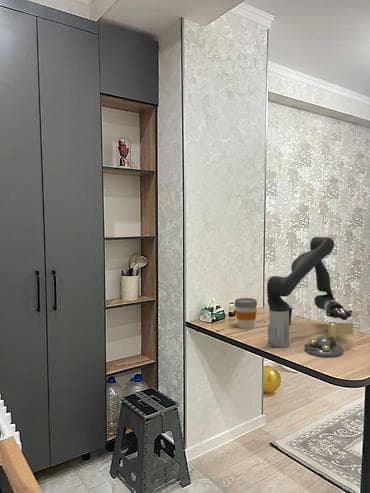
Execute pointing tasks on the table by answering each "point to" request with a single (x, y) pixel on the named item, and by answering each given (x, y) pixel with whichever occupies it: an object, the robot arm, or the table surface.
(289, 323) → the coffee mug
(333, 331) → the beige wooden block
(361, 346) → the table surface
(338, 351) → the levelling base
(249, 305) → the reusable coffee cup
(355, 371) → the table surface
